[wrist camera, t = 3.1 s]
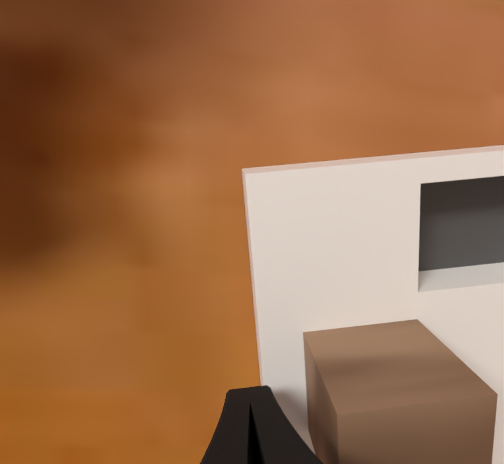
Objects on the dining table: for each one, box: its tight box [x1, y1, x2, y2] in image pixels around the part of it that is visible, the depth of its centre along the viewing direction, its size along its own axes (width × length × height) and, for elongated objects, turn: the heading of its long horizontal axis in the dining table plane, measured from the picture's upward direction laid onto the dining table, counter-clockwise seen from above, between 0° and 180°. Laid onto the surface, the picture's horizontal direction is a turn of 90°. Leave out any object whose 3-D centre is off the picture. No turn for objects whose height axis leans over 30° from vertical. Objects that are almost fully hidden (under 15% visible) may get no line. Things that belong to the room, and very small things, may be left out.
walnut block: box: [303, 319, 498, 464], centre depth 12 cm, size 4×4×4 cm
